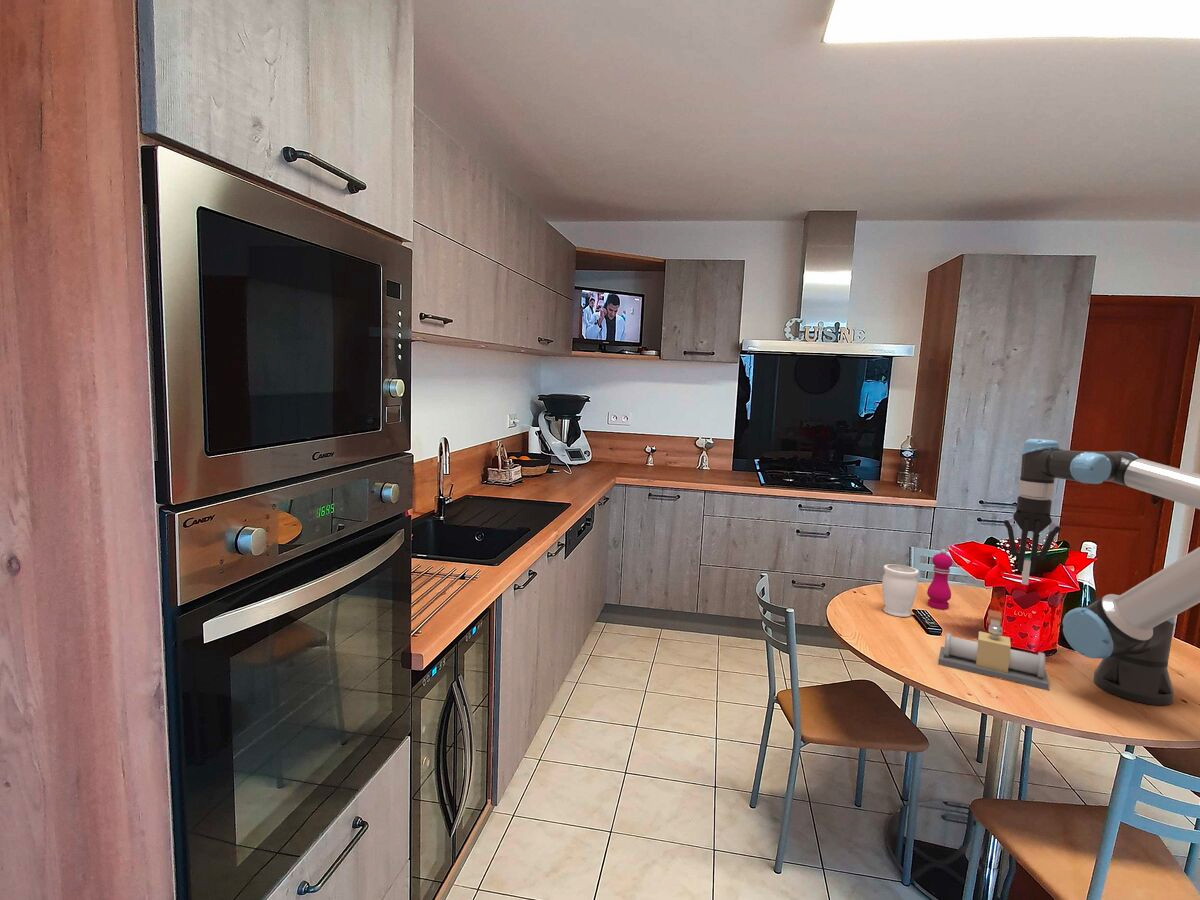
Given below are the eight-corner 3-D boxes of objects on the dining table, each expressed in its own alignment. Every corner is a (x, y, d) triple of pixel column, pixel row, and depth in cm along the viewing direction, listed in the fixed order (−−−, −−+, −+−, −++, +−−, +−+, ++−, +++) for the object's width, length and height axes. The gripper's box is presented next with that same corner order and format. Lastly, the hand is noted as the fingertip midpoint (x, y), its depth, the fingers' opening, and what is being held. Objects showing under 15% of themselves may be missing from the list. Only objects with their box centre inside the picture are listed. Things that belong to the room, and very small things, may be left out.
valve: (1044, 675, 163) (1049, 638, 162) (1048, 690, 154) (1052, 652, 153) (940, 651, 175) (943, 617, 174) (938, 664, 166) (941, 628, 166)
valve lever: (1001, 636, 162) (1002, 629, 161) (988, 633, 163) (989, 626, 163) (1000, 618, 175) (1001, 612, 174) (987, 616, 176) (988, 609, 176)
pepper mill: (954, 610, 209) (960, 552, 207) (932, 609, 210) (938, 551, 208) (942, 603, 217) (948, 546, 215) (921, 602, 217) (927, 546, 215)
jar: (915, 621, 198) (919, 575, 197) (879, 614, 203) (883, 569, 201) (913, 610, 208) (918, 566, 206) (879, 605, 212) (883, 561, 211)
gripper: (1063, 498, 166) (1052, 584, 169) (1005, 492, 173) (995, 575, 175) (1066, 502, 160) (1055, 591, 162) (1006, 495, 166) (996, 581, 169)
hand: (1024, 583), depth 169 cm, fingers closed
